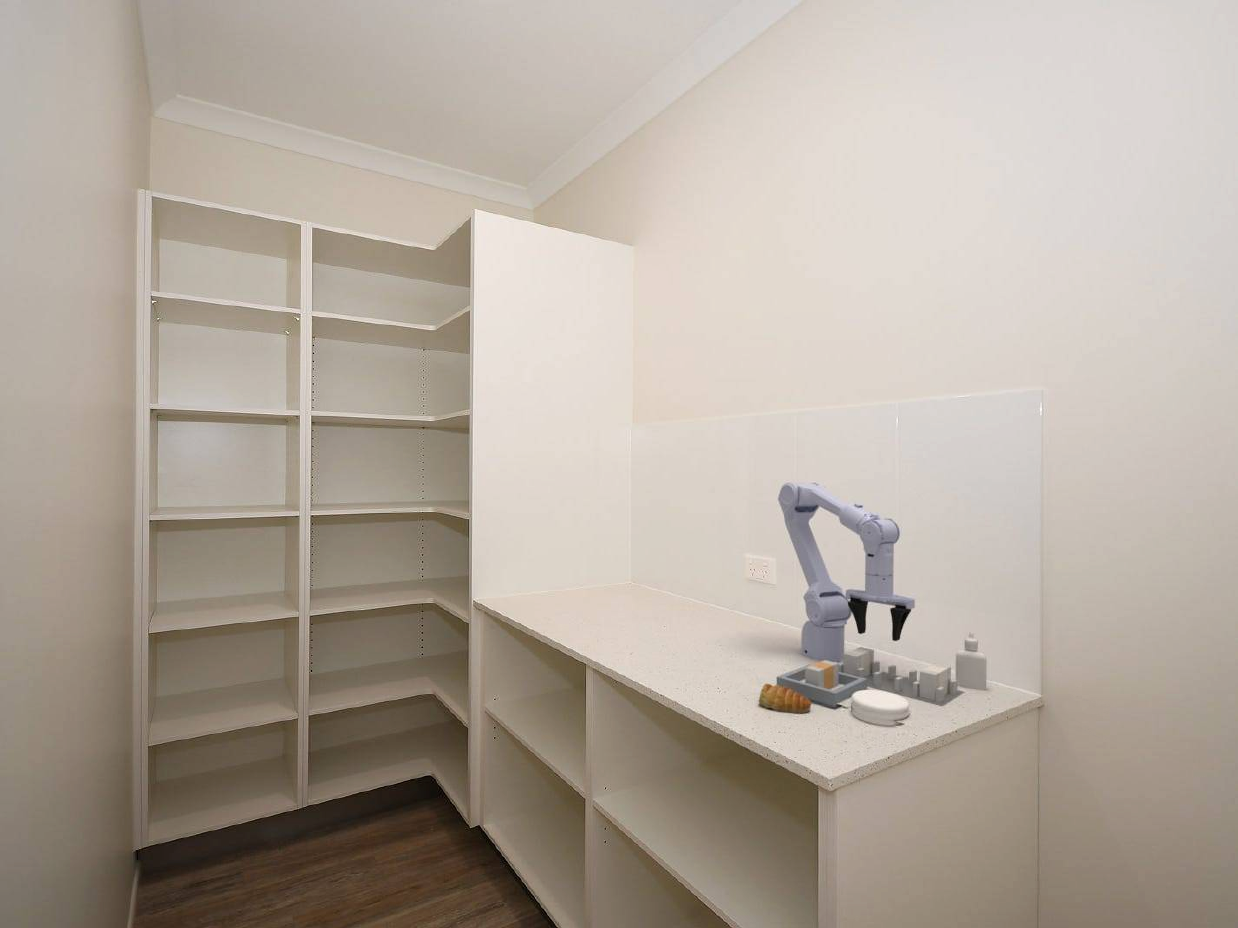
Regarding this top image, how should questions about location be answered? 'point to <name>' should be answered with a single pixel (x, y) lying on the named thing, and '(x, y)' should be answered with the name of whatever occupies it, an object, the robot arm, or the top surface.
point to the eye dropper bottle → (971, 665)
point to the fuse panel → (904, 684)
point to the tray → (822, 694)
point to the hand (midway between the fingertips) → (878, 636)
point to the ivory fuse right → (934, 680)
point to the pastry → (783, 699)
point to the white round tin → (879, 707)
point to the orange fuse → (822, 674)
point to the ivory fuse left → (858, 661)
